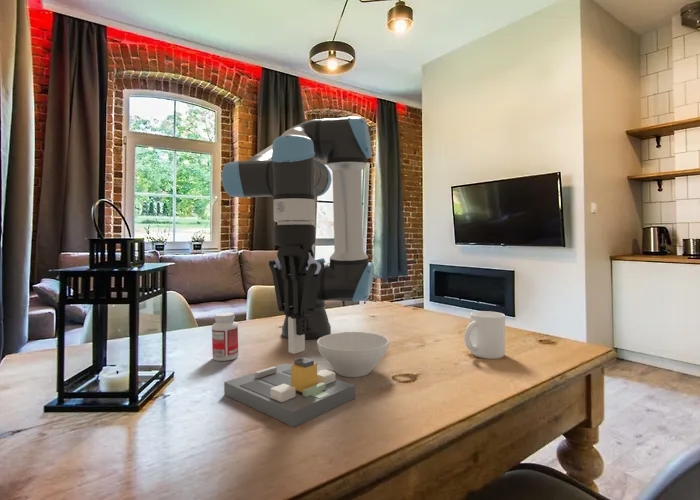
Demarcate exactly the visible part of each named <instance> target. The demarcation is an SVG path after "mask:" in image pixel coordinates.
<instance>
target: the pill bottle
mask: <svg viewBox="0 0 700 500" xmlns="http://www.w3.org/2000/svg"><path fill="white" fill-rule="evenodd" d="M235 316H236V315H235V312H232V311H231V312H230V311H229V312H219V313H215V315H214V321H215V322H214V323H213V324H212V326H211V338H212V339H211V342H212V346H211V347H212V349H211V350H212V360H214V361H216V362H217V361H218V362H224V361H225V362H227V361H231V360H235V359H237V358H238V356H239V326H238V323H237V322H236V321H234V320H235V319H236V317H235Z"/></svg>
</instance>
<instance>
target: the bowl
mask: <svg viewBox="0 0 700 500" xmlns="http://www.w3.org/2000/svg"><path fill="white" fill-rule="evenodd" d="M389 341H390V340H389V338H387V337H386V336H383V335H380V334H376V333H371V332H363V331H360V332H359V331H346V332H344V331H343V332H336V333H330V334H329V335H326V336H323V337H321V338H317V339H316V343H317V350H318V351H319V353H320V355H321V357H322V358H323V359H324V360H325V361H326V362H327V363H328V364H329V365H330V366H331V368H332V369H333V370H334V372H335V374H336V375H339V376H341V377H345V378H361V377H365V376H368V375H369V374H370V373H371V371H373V368H374V367H375V366H376V365H378V363H379V362H380V361H381V360H382V359H383V358H384V357H385V355H386V353H387V350H388V348H389V343H390V342H389Z"/></svg>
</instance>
